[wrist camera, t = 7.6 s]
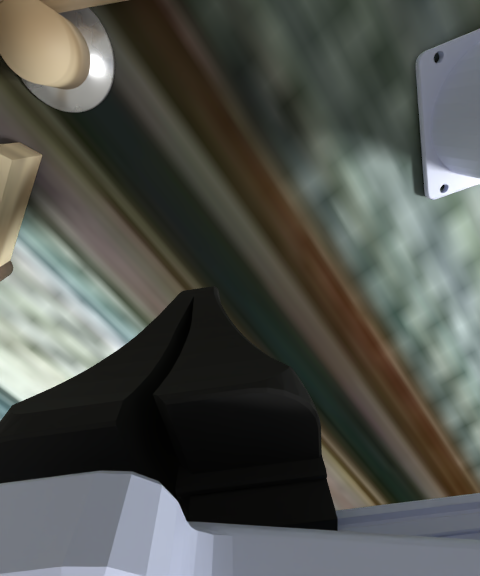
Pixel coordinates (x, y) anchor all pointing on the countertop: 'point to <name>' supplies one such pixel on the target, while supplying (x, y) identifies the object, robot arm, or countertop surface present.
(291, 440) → the robot arm
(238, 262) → the countertop surface
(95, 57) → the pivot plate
